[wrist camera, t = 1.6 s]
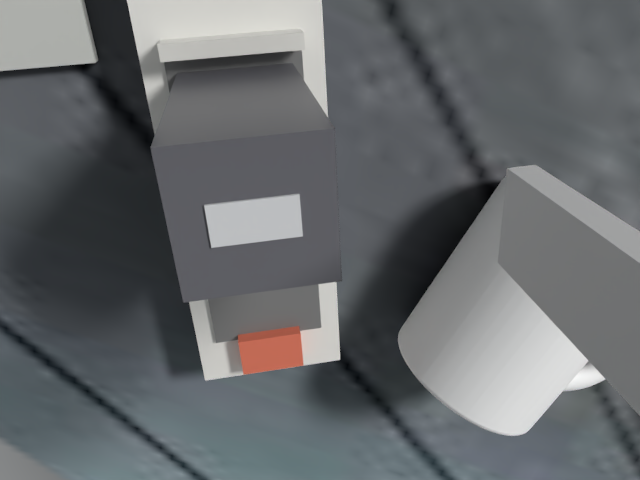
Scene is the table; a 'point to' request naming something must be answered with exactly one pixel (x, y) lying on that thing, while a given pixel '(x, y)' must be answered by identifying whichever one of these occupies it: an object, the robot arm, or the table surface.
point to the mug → (489, 338)
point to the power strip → (158, 75)
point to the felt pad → (44, 34)
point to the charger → (248, 182)
